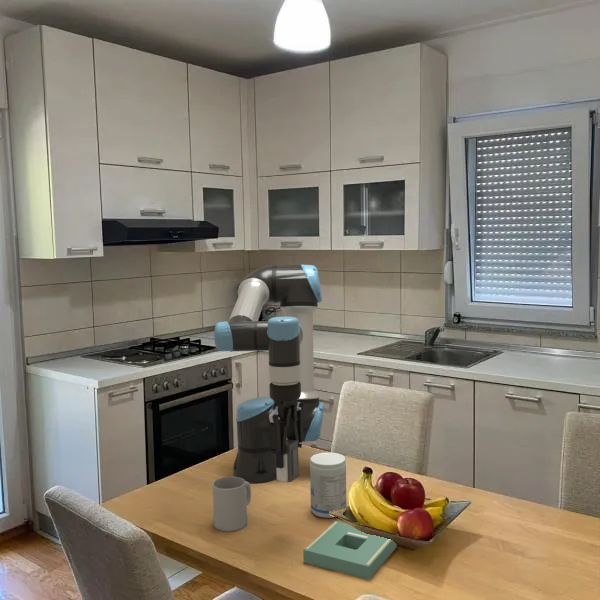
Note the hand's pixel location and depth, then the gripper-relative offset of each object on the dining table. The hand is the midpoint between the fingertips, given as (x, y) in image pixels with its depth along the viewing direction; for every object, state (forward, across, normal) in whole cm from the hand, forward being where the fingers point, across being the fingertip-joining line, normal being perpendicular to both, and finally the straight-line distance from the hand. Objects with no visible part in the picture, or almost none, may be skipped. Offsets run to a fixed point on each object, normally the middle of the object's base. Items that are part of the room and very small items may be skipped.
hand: (287, 476), depth 153 cm
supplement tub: (+15, -17, +2) cm, 23 cm away
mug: (+15, 0, -17) cm, 23 cm away
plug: (0, 0, 0) cm, 0 cm away
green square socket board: (+15, +1, +17) cm, 23 cm away
